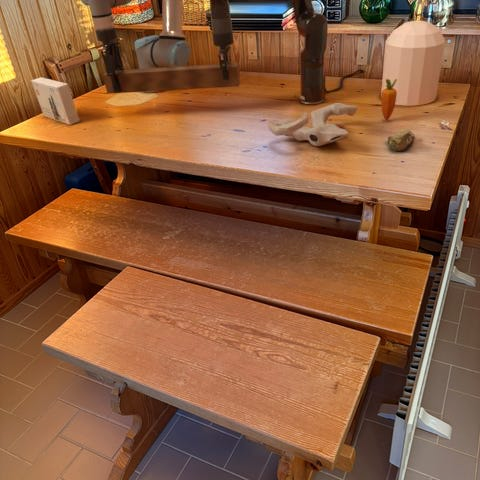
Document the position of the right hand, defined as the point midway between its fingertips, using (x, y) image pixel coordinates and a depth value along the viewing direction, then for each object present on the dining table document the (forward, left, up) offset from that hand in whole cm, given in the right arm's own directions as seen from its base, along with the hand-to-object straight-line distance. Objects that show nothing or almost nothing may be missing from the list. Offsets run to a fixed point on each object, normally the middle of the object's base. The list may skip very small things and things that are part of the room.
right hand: (227, 77), depth 179 cm
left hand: (+30, -33, -3) cm, 45 cm away
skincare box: (+51, -53, -14) cm, 75 cm away
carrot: (-28, +54, -14) cm, 63 cm away
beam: (+15, -17, -3) cm, 23 cm away
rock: (-14, +70, -14) cm, 73 cm away
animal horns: (+1, +49, -14) cm, 51 cm away
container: (-55, +46, -14) cm, 72 cm away
